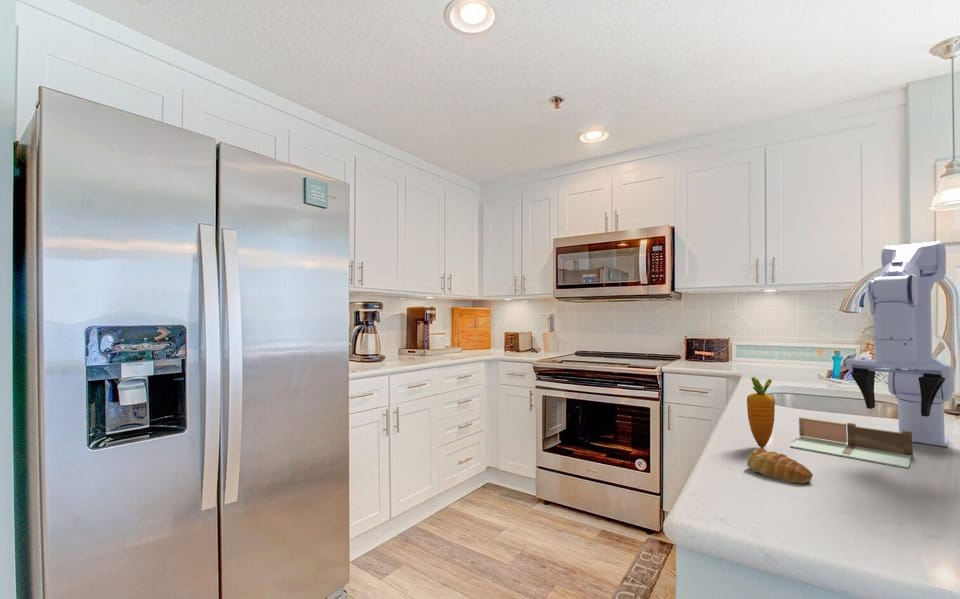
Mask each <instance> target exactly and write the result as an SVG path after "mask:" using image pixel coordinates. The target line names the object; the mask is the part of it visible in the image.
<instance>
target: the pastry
mask: <svg viewBox="0 0 960 599" xmlns="http://www.w3.org/2000/svg"><path fill="white" fill-rule="evenodd" d="M746 466H747V467H748V468H750V470H751V471H752V472H754V473H758V474H761V475H762V476H764V477H767V478H773V479H775V480H778V481H781V482H787V483H797V484H801V485H802V484H805V483H808V482H811V481H812V478H813V475H814V474H813V473H812V472H811V470H810V469H809V468H808V467H806V466H805V465H803V464H801V463H800V462H797V460H795V459H792V458H790V457H788V456H787V455H786V454H783V453H779V452H776V451H768V450H766V449H764V448H761V447H759V448H758V447H757V448H755V449H754V450H753V451H752V452H750V454H749V456H748V459H747V462H746Z"/></svg>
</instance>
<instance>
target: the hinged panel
mask: <svg viewBox="0 0 960 599" xmlns="http://www.w3.org/2000/svg"><path fill="white" fill-rule="evenodd" d="M798 426H799V427H798V428H799V430H798V432H799V437H801V436H805V437H811V438H817V439H823V440H830V441H836V442H842V443H847V440H848V435H847V423H845V422H839V421H838V422H837V421H832V420H824V419H823V420H822V419H816V418H810V417H803V416H802V417H798Z"/></svg>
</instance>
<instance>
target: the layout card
mask: <svg viewBox="0 0 960 599" xmlns="http://www.w3.org/2000/svg"><path fill="white" fill-rule="evenodd" d="M789 447H790V448H792V449H793V448H794V449H799V450H805V451H810V452H813V453H814V452H815V453H819V454H820V453H821V454H826V455H830V456H831V455H832V456H838V457H842V458H849V459H854V460H860V461H864V462H869V463H876V464H880V465H887V466H890V467H891V466H892V467H895V468H903V469H908V470H909V469H910V465H911V461H912V456H913V455H905V454H903V453H897V452H891V451H885V450H879V449H872V448H866V447H860V446H852V445H848V439H847V443H842V442H836V441H830V440H823V439H817V438H811V437H805V436H799V438H797V439H796V440H795V441H794V442H793V443H791V445H790V446H789Z"/></svg>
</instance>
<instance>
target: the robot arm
mask: <svg viewBox="0 0 960 599" xmlns="http://www.w3.org/2000/svg"><path fill="white" fill-rule="evenodd" d="M880 255H881V256H880V257H881V267H882V268H881V269H882V270H881V271H880V272H879V276H877V277H874V278H873V279H874V280H873V279H870V280H869V281H868V285H867V297H868V301H869V305H870V315H871V316H872V317H873V341H874V343H873V344H874V345H873V346H874V360H873V359H871V360H870V359H854V358H853V359H852V358H848V359H845V369H846V370H850V371H851V370H852V371H851V372H850V374H851V378H853V379H854V381H855V384H856V385H857V386H858V388H859V390H860V392H861V395H862V397H863V400H864V401H865V402H864V403H865V406H866V409H869V410H872V409H875V408H876V398H875V396H876V395H875V380H876V372H881V373H887V389H888V393H890V394H891V396H894V397H895V399H897V415H898V416H897V418H898V430H897V432H900V433H902V431H911V432H912V443H918V444H919V443H920V444H926V445H933V446H939V447H940V446H941V447H948V446H949V445H948V443H949V442H948V436H947V435H945V415H944V413H945V412H944V411H945V410H944V403H945V402H949V401H950V400H952V398H953V377H954V376H953V373H954V372H953V366H952V365H948V364H947V363H946V362H943V361H942V360H940V359H938V358H937V357H935V356H934V355H933V332H932V331H933V329H932V325H933V324H932V291H933V288H934V285H935V283H937V282H938V283H939V282H941V281H943V280H945V276H946V274H947V253H946V246H945V243H944V242H943V241H941V240H936V241H931V242H930V241H929V242H921V243H920V242H917V243H911V244H910V243H909V244H907V243H906V244H898V245H889V244H888V245H884V247H883V248H882V249H881V254H880Z"/></svg>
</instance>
